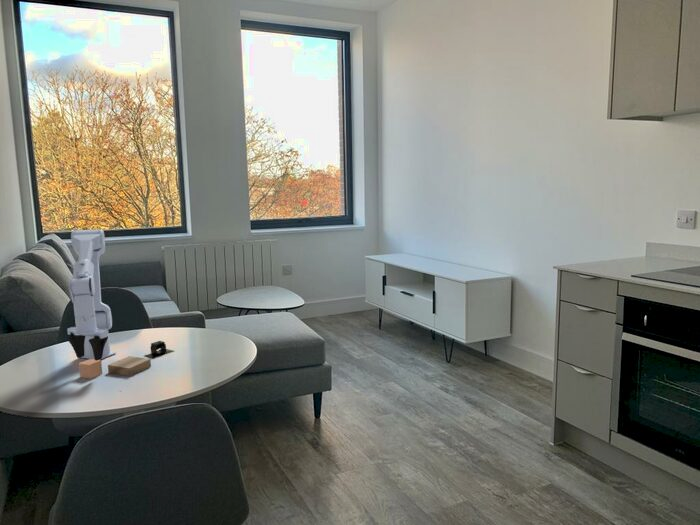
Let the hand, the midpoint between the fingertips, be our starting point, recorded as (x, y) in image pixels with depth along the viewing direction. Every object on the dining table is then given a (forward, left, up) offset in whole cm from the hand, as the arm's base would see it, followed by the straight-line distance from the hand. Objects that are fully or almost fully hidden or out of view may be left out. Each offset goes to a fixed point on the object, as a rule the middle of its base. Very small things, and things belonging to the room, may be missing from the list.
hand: (89, 358), depth 169 cm
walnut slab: (+8, +8, -6) cm, 13 cm away
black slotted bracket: (+5, +24, -6) cm, 25 cm away
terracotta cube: (0, 0, -6) cm, 6 cm away
